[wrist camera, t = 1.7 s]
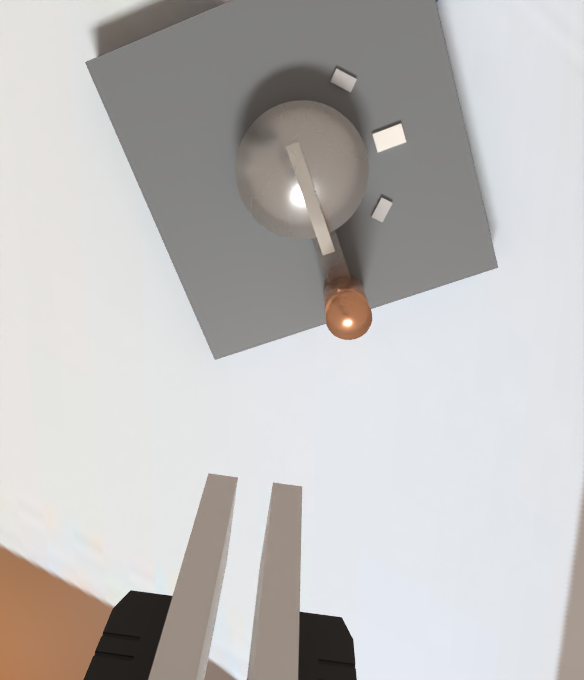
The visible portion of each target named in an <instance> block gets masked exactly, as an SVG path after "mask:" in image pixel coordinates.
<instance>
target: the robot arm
mask: <svg viewBox="0 0 584 680" xmlns="http://www.w3.org/2000/svg"><path fill="white" fill-rule="evenodd" d="M237 480H238V478H237V477H230V476H223V475H216V474H208V477H207V481H206V484H205V488H204V491H203V494H202V498H201V501H200V505H199V508H198V512H197V515H196V518H195V522H194V525H193V529H192V532H191V535H190V539H189V542H188V546H187V549H186V552H185V556H184V559H183V563H182V566H181V570H180V573H179V576H178V580H177V583H176V587H175V590H174V593H173V596H168V595H161V594H153V593H146V592H139V591H130V592H129V593H128V594H127V595H126V596H125V597H124V598H123V599H122V600H121V601H120V602H119V603H118V604H117V605H116V606H115V607H114V608H113V609H112V612H111V614H110V617H109V619H108V622H107V624H106V627H105V629H104V631H103V636H102V637H101V639H100V641H99V644H98V646H97V648H96V651H95V655H94V656H93V658H92V661H91V663H90V666H89V668H88V670H87V673H86V675H85V678H84V680H204V677H205V672H206V666H207V661H208V656H209V651H210V646H211V640H212V635H213V630H214V625H215V620H216V614H217V609H218V604H219V599H220V594H221V588H222V583H223V578H224V573H225V567H226V562H227V555H228V548H229V540H230V533H231V525H232V517H233V510H234V502H235V495H236V487H237ZM301 515H302V487H301V486H294V485H287V484H279V483H273V487H272V493H271V499H270V505H269V512H268V518H267V524H266V531H265V537H264V543H263V549H262V556H261V562H260V570H259V578H258V587H257V596H256V605H255V614H254V622H253V631H252V640H251V649H250V658H249V667H248V675H247V680H357V679H356V669H355V655H354V644H353V638H352V636H351V635H350V633H349V631H348V629H347V627H346V625H345V623H344V621H343V619H342V617H335V616H327V615H320V614H312V613H305V612H300V564H301Z"/></svg>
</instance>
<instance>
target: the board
mask: <svg viewBox="0 0 584 680" xmlns="http://www.w3.org/2000/svg"><path fill="white" fill-rule="evenodd" d="M85 63H86V65H87V68H88V70H89V72H90V74H91V77H92V79H93V81H94V84H95V86H96V88H97V91H98V93H99V95H100V97H101V100H102V102H103V104H104V107H105V109H106V111H107V113H108V116H109V118H110V120H111V123H112V125H113V127H114V129H115V132H116V134H117V136H118V139H119V141H120V143H121V146H122V148H123V150H124V152H125V155H126V157H127V159H128V162H129V164H130V166H131V168H132V171H133V173H134V175H135V178H136V180H137V182H138V185H139V187H140V189H141V191H142V194H143V196H144V198H145V201H146V203H147V205H148V207H149V210H150V212H151V214H152V217H153V219H154V221H155V223H156V226H157V228H158V230H159V233H160V235H161V237H162V240H163V242H164V244H165V246H166V249H167V251H168V253H169V256H170V258H171V260H172V262H173V265H174V267H175V269H176V272H177V274H178V276H179V279H180V281H181V283H182V285H183V288H184V290H185V292H186V295H187V297H188V299H189V301H190V304H191V306H192V308H193V311H194V313H195V315H196V317H197V320H198V322H199V324H200V327H201V329H202V331H203V334H204V336H205V338H206V340H207V343H208V345H209V347H210V350H211V352H212V354H213V356H214V359H215V360H216V359H219V358H222V357H225V356H228V355H231V354H234V353H237V352H241V351H244V350H247V349H250V348H253V347H256V346H259V345H262V344H265V343H268V342H271V341H274V340H277V339H280V338H283V337H287V336H290V335H293V334H296V333H299V332H302V331H305V330H308V329H311V328H314V327H317V326H320V325H323V324H326V316H325V305H324V289H325V287H326V285H327V282H326V279H325V276H324V273H323V270H322V267H321V264H320V262H319V259H318V256H317V253H316V250H315V247H314V244H313V241H312V238H310V239H293V238H288V237H284V236H281V235H278V234H276V233H273V232H272V231H270V230H268V229H266V228H265V227H264V226H262V225H261V224H260V223H259V222H258V221H257V220H255V219H254V218H253V216H252V215H251V214H250V213H249V211H248V210H247V208H246V207H245V205H244V203H243V201H242V199H241V197H240V194H239V191H238V187H237V182H236V171H235V168H236V158H237V153H238V149H239V146H240V143H241V141H242V139H243V137H244V135H245V133H246V132H247V130H248V129H249V127H250V126H251V125H252V124H253V123H254V121H255V120H256V119H257V118H258V117H260V116H261V115H262V114H263V113H265V112H266V111H268V110H269V109H271V108H273V107H275V106H277V105H279V104H283V103H286V102H290V101H296V100H307V101H315V102H319V103H322V104H325V105H327V106H330V107H332V108H334V109H335V110H337V111H339V112H340V113H341V114H343V115H344V116H345V117H346V118H347V119H348V120H349V121H350V122H351V123H352V124H353V125H354V127H355V128H356V130H357V131H358V132H359V134H360V136H361V138H362V140H363V143H364V145H365V148H366V152H367V156H368V165H369V175H368V182H367V187H366V191H365V194H364V196H363V199H362V201H361V203H360V205H359V206H358V208H357V210H356V211H355V212H354V214H353V215H352V216H351V217H350V218H349V219H348V220H347V221H346V222H345V223H344V224H343V225H341V226H340V227H339V228H337V229H336V230H335V231H336V234H337V237H338V240H339V243H340V246H341V249H342V252H343V255H344V258H345V261H346V264H347V267H348V270H349V273H350V276H353V277H355V278H356V279H358V280H359V281H360V283H361V284H362V286H363V289H364V292H365V295H366V297H367V300H368V303H369V306H370V309H372V308H375V307H379V306H382V305H385V304H388V303H391V302H394V301H397V300H400V299H403V298H406V297H409V296H412V295H415V294H418V293H421V292H425V291H428V290H431V289H434V288H437V287H440V286H443V285H446V284H449V283H452V282H455V281H458V280H461V279H464V278H467V277H471V276H474V275H477V274H480V273H483V272H486V271H489V270H492V269H495V268H498V265H497V261H496V256H495V252H494V248H493V244H492V239H491V235H490V231H489V227H488V222H487V218H486V214H485V210H484V205H483V201H482V197H481V193H480V188H479V184H478V180H477V176H476V171H475V167H474V163H473V159H472V154H471V150H470V146H469V142H468V137H467V133H466V129H465V125H464V120H463V116H462V112H461V108H460V103H459V99H458V95H457V90H456V86H455V82H454V78H453V73H452V69H451V65H450V61H449V56H448V52H447V48H446V44H445V39H444V35H443V31H442V27H441V22H440V18H439V14H438V10H437V5H436V1H435V0H231V1H228V2H226V3H224V4H221V5H219V6H217V7H214V8H212V9H210V10H207V11H205V12H203V13H200V14H198V15H195V16H193V17H191V18H188V19H186V20H184V21H181V22H179V23H177V24H174V25H172V26H170V27H167V28H165V29H162V30H160V31H158V32H155V33H153V34H151V35H148V36H146V37H144V38H141V39H139V40H137V41H134V42H132V43H130V44H127V45H125V46H122V47H120V48H118V49H115V50H113V51H111V52H108V53H106V54H104V55H101V56H99V57H97V58H94V59H92V60H90V61H87V62H85Z"/></svg>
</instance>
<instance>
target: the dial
mask: <svg viewBox="0 0 584 680" xmlns="http://www.w3.org/2000/svg"><path fill="white" fill-rule="evenodd" d="M235 171H236V182H237V187H238V191H239V194H240V197H241V199H242V201H243V203H244V205H245V207H246V208H247V210H248V211H249V213H250V214H251V215H252V216H253V218H254V219H255V220H257V221H258V222H259V223H260V224H261V225H262V226H264V227H265V228H266V229H268V230H270V231H272V232H273V233H276V234H278V235H281V236H284V237H288V238H293V239H310V238H312V241H313V244H314V247H315V250H316V253H317V256H318V259H319V262H320V264H321V267H322V270H323V273H324V276H325V279H326V282H327V285H326V287H325V289H324V305H325V316H326V324H327V327H328V329H329V330H330V331H331V333H332V334H333V335H335V336H336V337H338V338H341V339H345V340H352V339H356V338H359V337H360V336H362V335H363V334H365V333H366V332H367V330H368V329H369V327H370V325H371V322H372V313H371V309H370V306H369V303H368V300H367V297H366V295H365V292H364V289H363V286H362V284H361V283H360V281H359V280H358V279H356V278H355V277H353V276H350V273H349V270H348V267H347V264H346V261H345V258H344V255H343V252H342V249H341V246H340V243H339V240H338V237H337V234H336V231H335V230H336V229H337V228H339V227H340V226H341V225H343V224H344V223H345V222H346V221H347V220H348V219H349V218H350V217H351V216H352V215H353V214H354V212H355V211H356V210H357V208H358V206H359V205H360V203H361V201H362V199H363V196H364V194H365V191H366V187H367V182H368V175H369V165H368V156H367V152H366V148H365V145H364V143H363V140H362V138H361V136H360V134H359V132H358V131H357V130H356V128H355V127H354V125H353V124H352V123H351V122H350V121H349V120H348V119H347V118H346V117H345V116H344V115H343V114H341V113H340V112H339V111H337V110H335V109H334V108H332V107H330V106H327V105H325V104H322V103H319V102H315V101H307V100H296V101H290V102H286V103H283V104H279V105H277V106H275V107H273V108H271V109H269V110H268V111H266V112H265V113H263V114H262V115H261V116H260V117H258V118H257V119H256V120H255V121H254V123H253V124H252V125H251V126H250V127H249V129H248V130H247V132H246V133H245V135H244V137H243V139H242V141H241V143H240V146H239V149H238V153H237V158H236V168H235Z"/></svg>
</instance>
